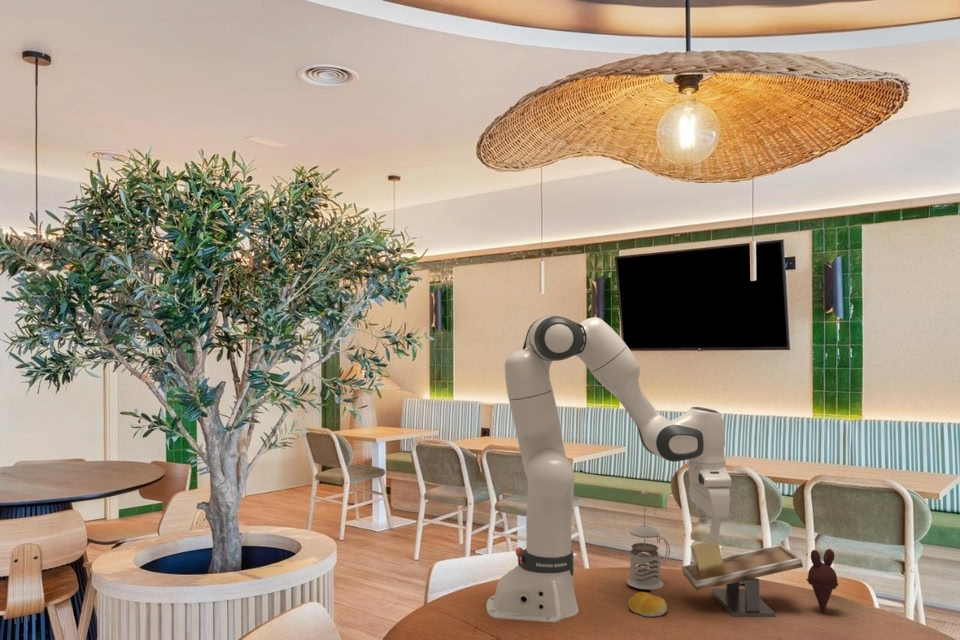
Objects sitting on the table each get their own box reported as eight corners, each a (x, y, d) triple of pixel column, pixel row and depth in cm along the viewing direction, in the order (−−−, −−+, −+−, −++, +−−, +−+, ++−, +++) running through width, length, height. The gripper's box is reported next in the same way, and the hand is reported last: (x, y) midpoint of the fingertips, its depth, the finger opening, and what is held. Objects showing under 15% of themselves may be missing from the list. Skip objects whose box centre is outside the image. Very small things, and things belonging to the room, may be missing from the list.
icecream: (827, 605, 173) (826, 544, 174) (846, 617, 166) (845, 553, 166) (800, 606, 172) (799, 545, 173) (818, 618, 165) (817, 554, 165)
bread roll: (653, 620, 163) (652, 603, 163) (623, 611, 170) (622, 594, 170) (675, 610, 168) (674, 593, 169) (645, 601, 175) (644, 585, 175)
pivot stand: (733, 618, 166) (732, 580, 166) (711, 593, 181) (711, 559, 182) (775, 618, 165) (775, 580, 166) (750, 593, 181) (749, 559, 182)
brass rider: (701, 578, 172) (695, 550, 172) (696, 573, 176) (690, 545, 176) (725, 573, 172) (718, 545, 172) (720, 568, 176) (713, 540, 176)
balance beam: (698, 596, 168) (695, 582, 168) (684, 579, 179) (681, 566, 180) (804, 572, 168) (801, 558, 168) (783, 556, 179) (780, 544, 179)
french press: (621, 577, 194) (621, 486, 194) (662, 575, 195) (661, 485, 195) (633, 590, 184) (632, 494, 184) (675, 588, 185) (675, 493, 186)
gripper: (682, 464, 185) (684, 517, 184) (707, 481, 164) (708, 540, 164) (706, 464, 185) (708, 517, 184) (734, 480, 164) (735, 540, 164)
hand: (708, 528), depth 174 cm, fingers open, 8 cm apart
